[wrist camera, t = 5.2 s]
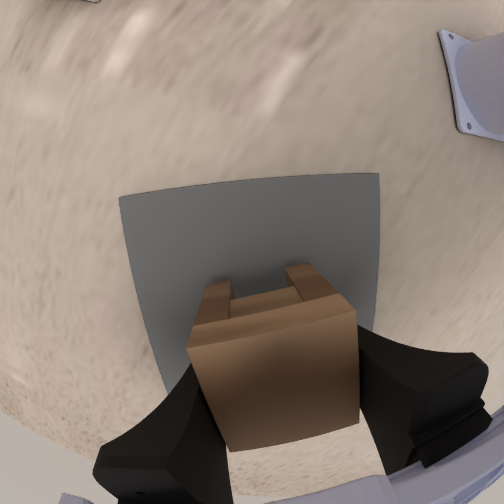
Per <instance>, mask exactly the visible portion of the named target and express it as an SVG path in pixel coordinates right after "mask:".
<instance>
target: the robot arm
mask: <svg viewBox="0 0 504 504" xmlns="http://www.w3.org/2000/svg"><path fill="white" fill-rule="evenodd" d="M439 36H440V40H441V43H442V47H443V51H444V55H445V59H446V63H447V67H448V72H449V76H450V81H451V87H452V92H453V98H454V105H455V112H456V120H457V126H458V129H459V130H460V132H462V133H467V134H472V135H477V136H481V137H485V138H490V139H494V140H498V141H501V142H504V32H502V33H499V34H496V35H492V36H489V37H486V38H483V39H480V40H477V41H474V42H472V41H470V40H467V39H465V38H463V37H461V36H459V35H457V34H454V33H452V32H450V31H447V30H445V29H442V30H440V31H439ZM467 126H468V128H467ZM357 333H358V352H359V385H360V409H361V411H362V413H363V415H364V417H365V420H366V422H367V424H368V427H369V429H370V431H371V434H372V436H373V439H374V442H375V444H376V447H377V450H378V452H379V455H380V458H381V461H382V464H383V467H384V470H385V473H386V475H371V476H367V477H364V478H360V479H356V480H353V481H350V482H347V483H344V484H341V485H338V486H335V487H332V488H328V489H325V490H321V491H318V492H314V493H310V494H306V495H302V496H297V497H293V498H288V499H283V500H278V501H273V502H269V503H265V504H467V503H468V502H470V501H471V500H473V499H474V498H475V497H476V496H478V495H479V494H480V493H482V492H483V491H484V490H485V489H487V488H488V487H489V486H490V485H492V484H493V483H494V482H495V481H496V480H498V479H499V478H500V477H501V476H502V475H503V474H504V405H503V406H502V407H501V408H500V409H498V410H497V411H496V412H495V413H493V414H492V415H491V416H490V415H489V414H488V413H487V411H486V410H485V409H484V408H483V407H484V405H485V402H484V401H483V400H482V399H481V398H480V397H481V394H482V392H483V389H484V387H485V384H486V382H487V378H488V373H489V370H488V366H487V365H486V364H485V363H484V362H483V361H482V360H481V359H480V358H479V357H478V356H477V355H475V354H474V353H473V352H469V353H449V352H437V351H430V350H424V349H419V348H415V347H411V346H407V345H404V344H401V343H397V342H394V341H392V340H389V339H387V338H384V337H382V336H380V335H377V334H375V333H373V332H371V331H369V330H367V329H365V328H363V327H361V326H360V325H358V324H357ZM93 476H94V478H95V479H96V481H97V482H98V483H99V484H100V485H101V486H102V487H103V488H105V489H106V490H107V491H108V492H110V493H111V494H112V495H113V496H115V497H116V498H118V504H234V503H233V497H232V491H231V485H230V478H229V470H228V462H227V452H226V443H225V441H224V439H223V437H222V435H221V432H220V430H219V428H218V426H217V424H216V421H215V419H214V417H213V414H212V412H211V410H210V408H209V405H208V403H207V400H206V398H205V396H204V393H203V391H202V388H201V386H200V383H199V381H198V378H197V376H196V373H195V371H194V368H193V366H192V363H190V365H189V366H188V368H187V370H186V371H185V373H184V374H183V376H182V377H181V379H180V380H179V382H178V383H177V384H176V385H175V387H174V388H173V389H172V391H171V392H170V393H169V395H168V396H167V397H166V398H165V399H164V400H163V401H162V402H161V404H160V405H159V406H158V407H157V408H156V409H155V410H154V411H152V412H151V413H150V414H149V415H148V416H147V417H146V418H144V419H143V420H142V421H141V422H140V423H138V424H137V425H136V426H134V427H133V428H132V429H130V430H129V431H127V432H126V433H124V434H123V435H121V436H119V437H117V438H116V439H114V440H112V441H110V442H108V443H106V444H104V445H102V446H101V448H100V450H99V453H98V456H97V459H96V462H95V465H94V468H93ZM59 504H94V503H92V502H91V501H89V500H87V499H85V498H82V497H78V496H74V495H70V494H66V493H62V495H61V498H60V501H59Z"/></svg>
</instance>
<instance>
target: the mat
mask: <svg viewBox="0 0 504 504" xmlns="http://www.w3.org/2000/svg"><path fill="white" fill-rule="evenodd" d="M118 199H119V206H120V212H121V219H122V225H123V230H124V236H125V241H126V247H127V252H128V257H129V261H130V266H131V271H132V275H133V280H134V284H135V288H136V292H137V296H138V300H139V304H140V308H141V312H142V315H143V319H144V322H145V326H146V329H147V333H148V336H149V340H150V343H151V346H152V349H153V352H154V356H155V359H156V362H157V365H158V368H159V371H160V374H161V376H162V379H163V382H164V385H165V388H166V390H167V393H168V395H169V393H170V392H171V391H172V389H173V388H174V387H175V385H176V384H177V383H178V382H179V380H180V379H181V377H182V376H183V374H184V373H185V371H186V370H187V368H188V366H189V365H190V363H191V360H190V358H189V355H188V352H187V349H186V347H187V344H188V340H189V337H190V334H191V331H192V328H193V324H194V321H195V318H196V315H197V312H198V309H199V306H200V302H201V299H202V296H203V293H204V290H205V287H206V285H207V284H212V283H216V282H221V281H226V280H230V279H231V283H232V287H233V291H234V295H235V299H238V298H243V297H247V296H252V295H256V294H261V293H265V292H270V291H274V290H279V289H283V288H287V287H288V285H287V280H286V275H285V270H284V267H288V266H293V265H297V264H301V263H306V262H309V263H310V264H311V265H312V266H313V267H314V268H315V269H316V270H317V271H318V272H319V273H320V274H321V275H322V276H323V277H324V278H325V279H326V280H327V281H328V282H329V283H330V284H331V285H332V286H333V287H334V288H335V289H336V290H337V291H338V292H339V293H340V294H341V295H342V296H343V297H344V298H345V299H346V300H347V301H348V303H349V304H350V305H351V306H352V307H353V308H354V309H355V310H356V319H357V324H358V325H360V326H361V327H363V328H365V329H367V330H369V331H371V332H372V330H373V322H374V313H375V304H376V293H377V280H378V265H379V241H380V188H379V173H356V174H325V175H305V176H289V177H275V178H263V179H251V180H241V181H231V182H222V183H213V184H204V185H196V186H189V187H181V188H174V189H167V190H160V191H154V192H148V193H142V194H136V195H130V196H124V197H119V198H118Z"/></svg>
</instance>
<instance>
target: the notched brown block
mask: <svg viewBox="0 0 504 504" xmlns="http://www.w3.org/2000/svg"><path fill="white" fill-rule="evenodd" d="M284 270H285V275H286V280H287V285H288V287H287V288H283V289H279V290H274V291H270V292H265V293H261V294H256V295H252V296H247V297H243V298H238V299H235V295H234V291H233V287H232V283H231V279H230V280H226V281H221V282H216V283H212V284H207V285H206V287H205V290H204V293H203V296H202V299H201V302H200V306H199V309H198V312H197V315H196V318H195V321H194V324H193V328H192V331H191V334H190V337H189V340H188V344H187V347H186V349H187V352H188V355H189V358H190V360H191V363H192V366H193V368H194V371H195V373H196V376H197V378H198V381H199V383H200V386H201V388H202V391H203V393H204V396H205V398H206V400H207V403H208V405H209V408H210V410H211V412H212V414H213V417H214V419H215V421H216V424H217V426H218V428H219V430H220V432H221V435H222V437H223V439H224V441H225V443H226V445H227V447H228V449H229V451H230V452H237V451H244V450H251V449H257V448H263V447H269V446H274V445H279V444H284V443H289V442H293V441H298V440H302V439H306V438H310V437H314V436H318V435H322V434H325V433H329V432H332V431H336V430H339V429H342V428H345V427H348V426H351V425H354V424H357V423H359V413H360V385H359V352H358V333H357V319H356V310H355V309H354V308H353V307H352V306H351V305H350V304H349V303H348V301H347V300H346V299H345V298H344V297H343V296H342V295H341V294H340V293H339V292H338V291H337V290H336V289H335V288H334V287H333V286H332V285H331V284H330V283H329V282H328V281H327V280H326V279H325V278H324V277H323V276H322V275H321V274H320V273H319V272H318V271H317V270H316V269H315V268H314V267H313V266H312V265H311V264H310V263H309V262H306V263H301V264H297V265H293V266H288V267H284Z"/></svg>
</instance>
